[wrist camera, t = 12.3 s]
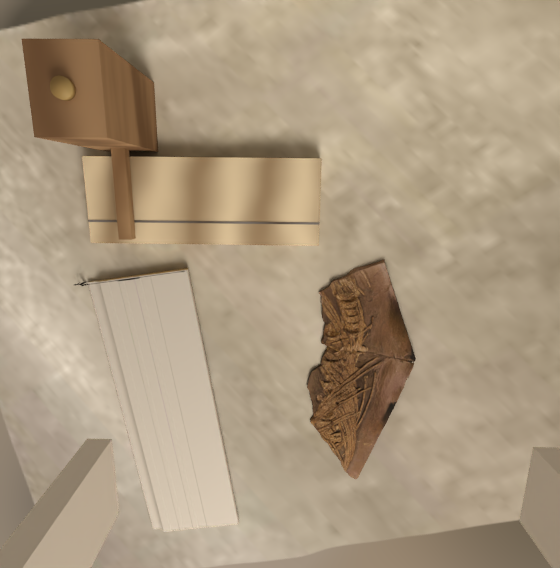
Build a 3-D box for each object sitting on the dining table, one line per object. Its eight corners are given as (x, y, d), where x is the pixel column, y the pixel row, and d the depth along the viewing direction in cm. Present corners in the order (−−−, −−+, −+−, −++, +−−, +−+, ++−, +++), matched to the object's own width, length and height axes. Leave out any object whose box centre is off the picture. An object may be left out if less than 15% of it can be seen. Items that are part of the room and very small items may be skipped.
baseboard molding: (144, 524, 49) (240, 513, 48) (135, 544, 46) (237, 533, 45) (78, 281, 41) (190, 265, 41) (63, 288, 39) (183, 271, 38)
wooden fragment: (324, 253, 40) (325, 255, 39) (431, 264, 40) (435, 266, 39) (296, 470, 46) (296, 476, 45) (389, 479, 46) (391, 485, 45)
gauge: (153, 82, 36) (94, 35, 25) (163, 235, 40) (114, 255, 28) (99, 82, 36) (15, 35, 25) (113, 234, 40) (44, 254, 28)
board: (320, 159, 38) (321, 158, 36) (317, 243, 39) (318, 245, 38) (89, 157, 38) (81, 156, 36) (98, 240, 40) (90, 242, 38)
